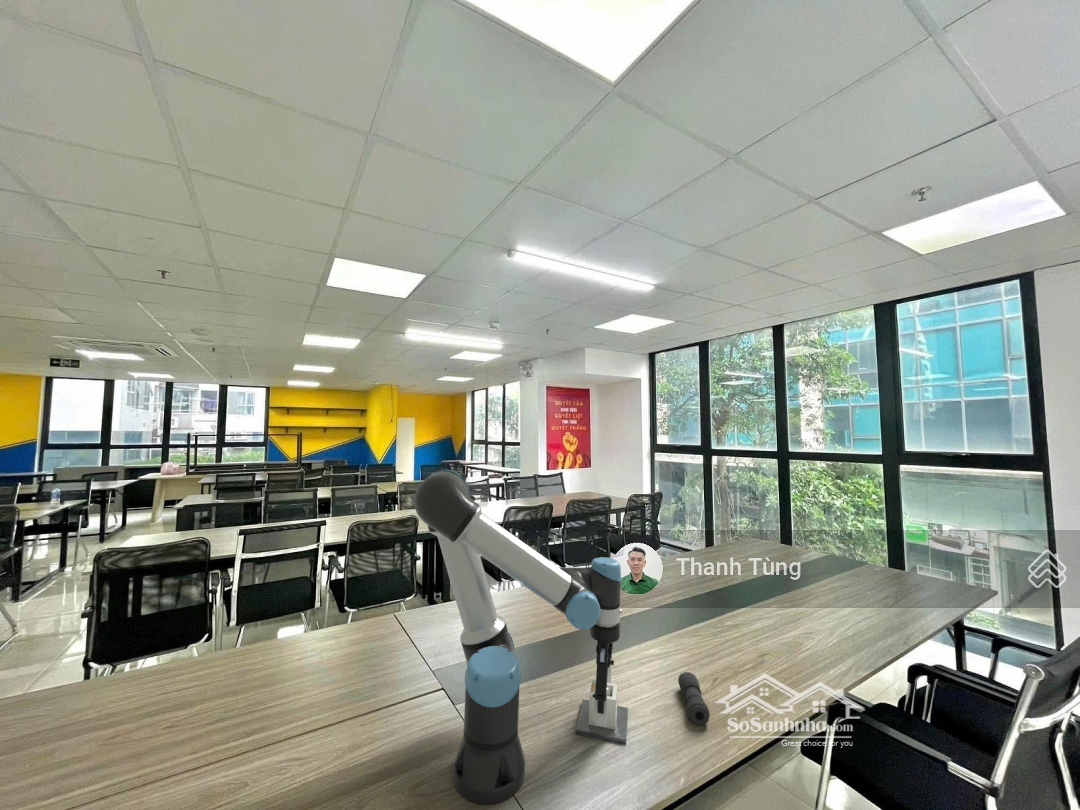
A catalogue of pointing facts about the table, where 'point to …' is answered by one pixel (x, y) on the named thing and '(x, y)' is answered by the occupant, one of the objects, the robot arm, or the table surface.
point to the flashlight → (693, 698)
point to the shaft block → (602, 732)
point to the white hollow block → (610, 706)
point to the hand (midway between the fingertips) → (603, 707)
